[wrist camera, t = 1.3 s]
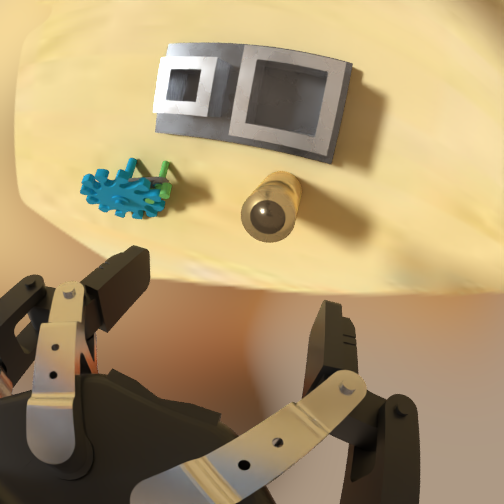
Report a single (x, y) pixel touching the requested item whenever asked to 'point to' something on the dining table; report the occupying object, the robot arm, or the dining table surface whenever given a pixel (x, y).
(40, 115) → the dining table surface
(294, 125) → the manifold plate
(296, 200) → the cylinder
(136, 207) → the gear
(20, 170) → the dining table surface
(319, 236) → the dining table surface
